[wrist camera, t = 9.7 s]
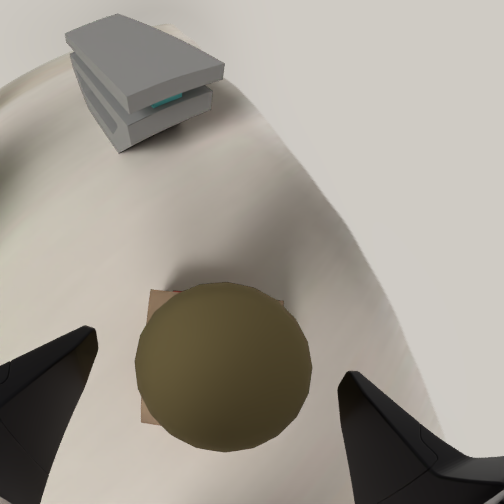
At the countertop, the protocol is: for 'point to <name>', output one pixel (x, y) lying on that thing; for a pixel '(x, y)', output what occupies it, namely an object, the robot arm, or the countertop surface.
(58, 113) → the countertop surface
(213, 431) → the olive tall rounded piece
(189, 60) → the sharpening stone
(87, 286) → the countertop surface
